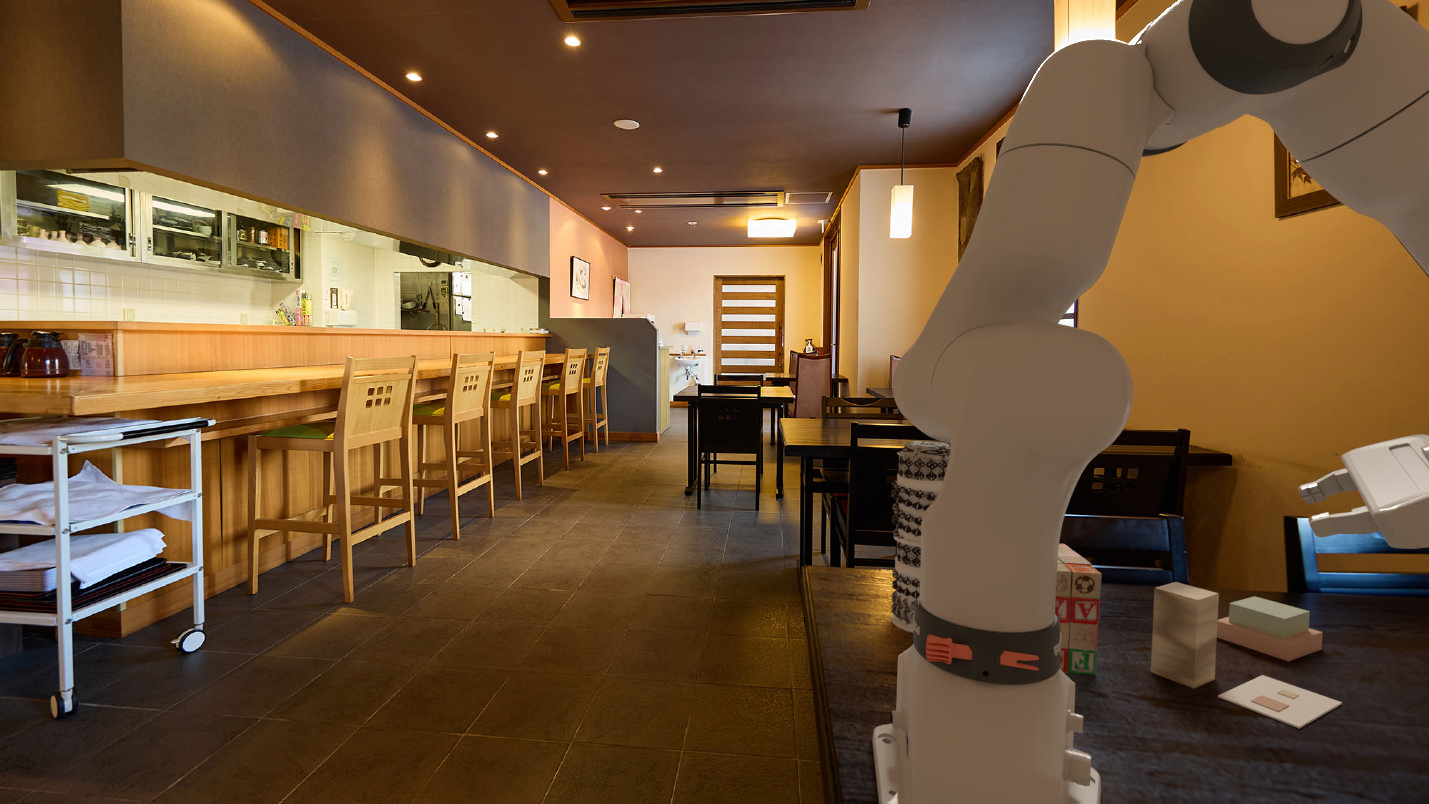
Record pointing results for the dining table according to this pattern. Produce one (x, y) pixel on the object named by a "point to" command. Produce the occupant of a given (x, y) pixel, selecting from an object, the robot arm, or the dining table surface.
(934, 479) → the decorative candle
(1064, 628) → the stack of blocks
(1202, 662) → the maple column
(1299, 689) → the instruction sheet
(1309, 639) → the tower base
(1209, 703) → the dining table surface
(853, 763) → the dining table surface
